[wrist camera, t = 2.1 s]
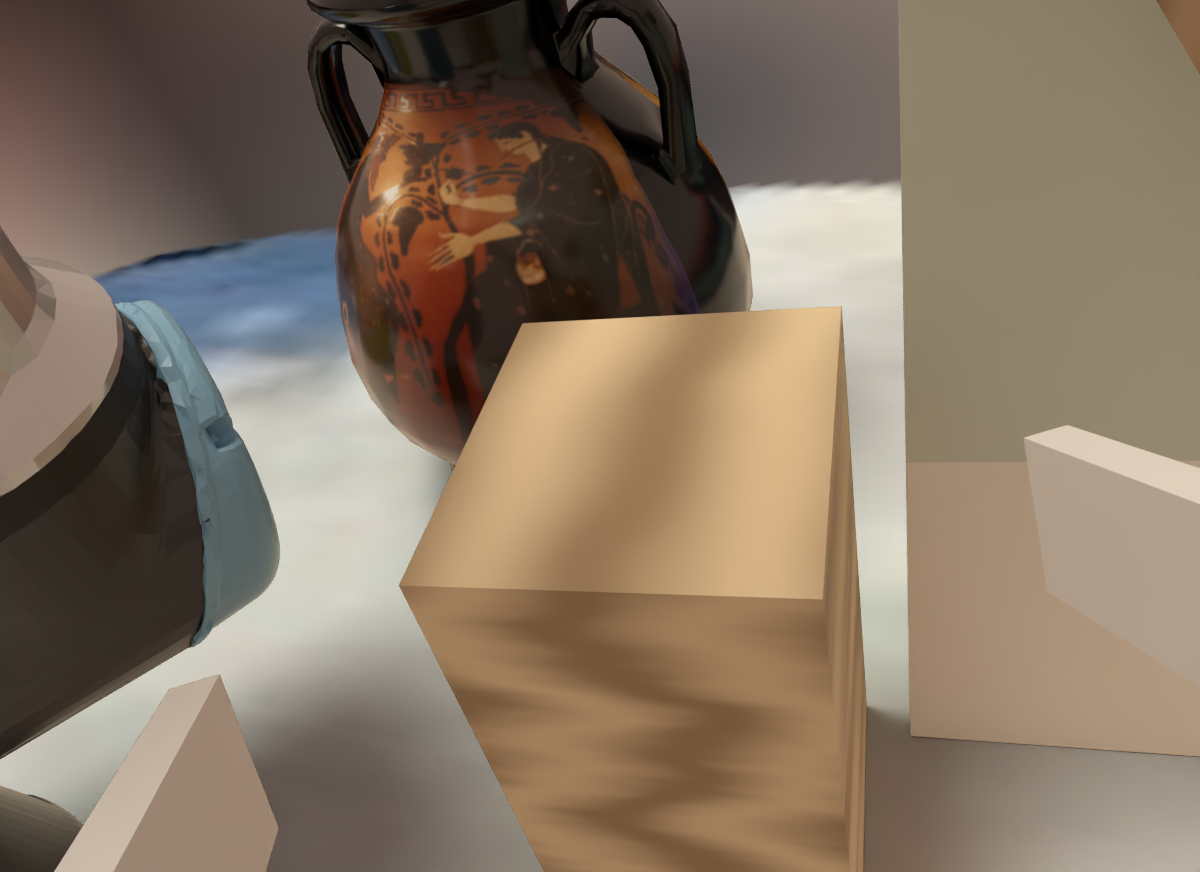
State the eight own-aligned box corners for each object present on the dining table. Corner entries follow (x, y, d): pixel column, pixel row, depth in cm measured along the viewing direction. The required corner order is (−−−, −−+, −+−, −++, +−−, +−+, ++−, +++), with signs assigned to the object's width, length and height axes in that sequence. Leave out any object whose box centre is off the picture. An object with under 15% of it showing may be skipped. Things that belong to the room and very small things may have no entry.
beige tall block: (910, 735, 40) (898, -56, 21) (906, 521, 48) (895, -173, 30) (1252, 760, 36) (1605, -167, 17) (1182, 524, 45) (1367, -263, 26)
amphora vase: (805, 338, 62) (758, -169, 44) (714, 602, 47) (590, 1, 30) (504, 327, 70) (365, -102, 53) (348, 547, 56) (84, 55, 38)
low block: (580, 942, 36) (398, 585, 24) (636, 690, 44) (522, 323, 32) (861, 983, 33) (822, 599, 21) (866, 705, 41) (841, 306, 29)
